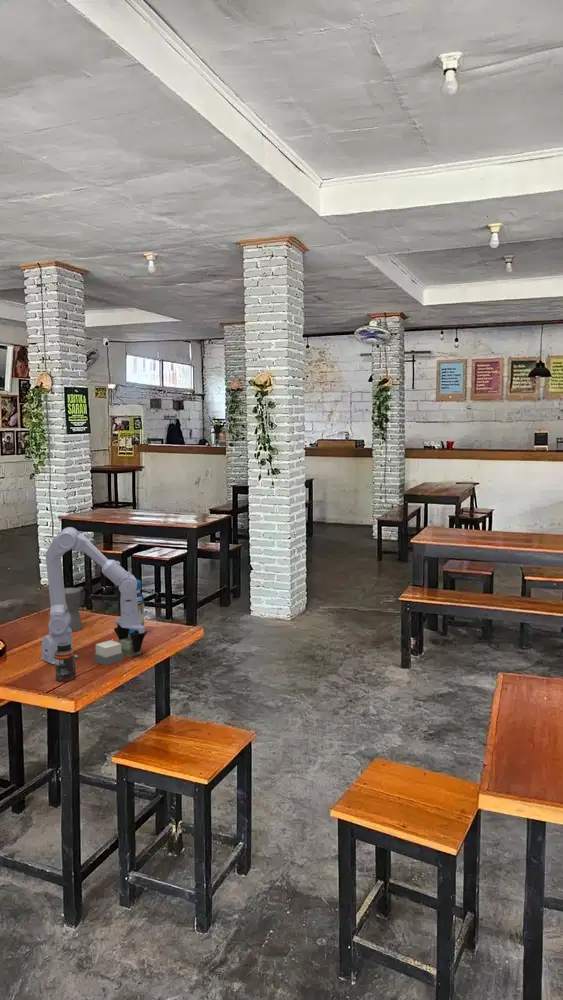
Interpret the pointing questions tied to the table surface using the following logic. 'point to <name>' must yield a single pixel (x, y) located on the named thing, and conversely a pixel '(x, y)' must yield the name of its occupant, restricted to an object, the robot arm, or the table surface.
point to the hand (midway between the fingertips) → (130, 649)
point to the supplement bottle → (65, 662)
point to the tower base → (108, 658)
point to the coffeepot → (75, 604)
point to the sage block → (128, 647)
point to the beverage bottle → (139, 605)
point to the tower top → (108, 648)
